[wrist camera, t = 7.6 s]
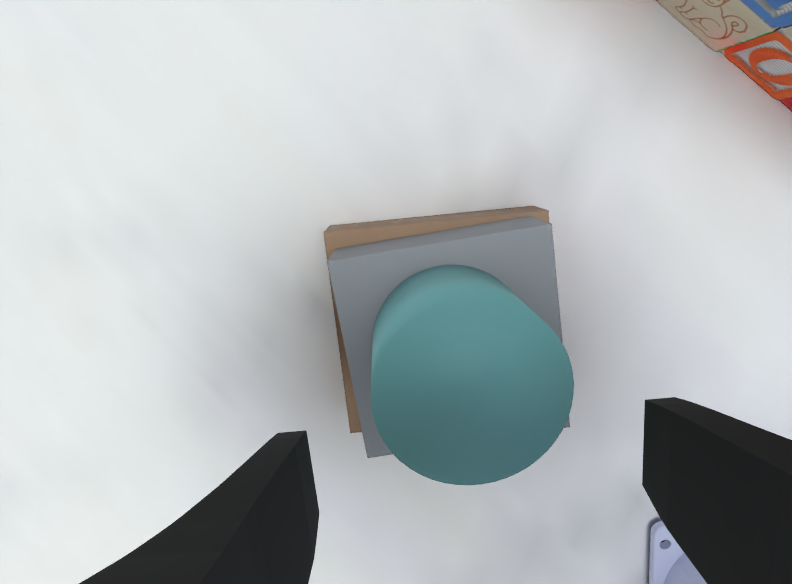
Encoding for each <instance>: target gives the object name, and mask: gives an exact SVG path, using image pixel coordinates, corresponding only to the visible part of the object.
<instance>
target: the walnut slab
mask: <svg viewBox="0 0 792 584" xmlns="http://www.w3.org/2000/svg"><path fill="white" fill-rule="evenodd" d="M524 216H532V217H535V218H538V219H540V220H543V221H545V222H548V223H549V211H548V210H545V209H542V208H539V207H535V206H527V207H516V208H506V209H496V210H486V211H475V212H465V213H455V214H445V215H434V216H424V217H414V218H404V219H393V220H383V221H373V222H362V223H352V224H342V225H332V226H330V227H329V228H328V229H327V230H326V231H325V232H324V238H325V245H326V253H327V261H328V259H329V258H330V256H331V255H332V253H333V252H334V250H335V249H336V248H341V247H347V246H353V245H358V244H364V243H370V242H376V241H382V240H388V239H394V238H400V237H406V236H412V235H418V234H424V233H430V232H435V231H441V230H447V229H453V228H459V227H465V226H471V225H477V224H483V223H489V222H495V221H501V220H506V219H512V218H518V217H524ZM329 276H330V273H329ZM330 283H331V278H330ZM331 291H332V298H333V306H334V313H335V321H336V328H337V336H338V343H339V351H340V358H341V366H342V373H343V381H344V388H345V396H346V403H347V411H348V418H349V426H350V433H356V432H362V428H361V423H360V418H359V414H358V409H357V404H356V399H355V394H354V389H353V385H352V380H351V375H350V370H349V365H348V360H347V356H346V351H345V346H344V341H343V336H342V331H341V327H340V322H339V317H338V312H337V307H336V302H335V298H334V293H333V288H332V283H331Z"/></svg>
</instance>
